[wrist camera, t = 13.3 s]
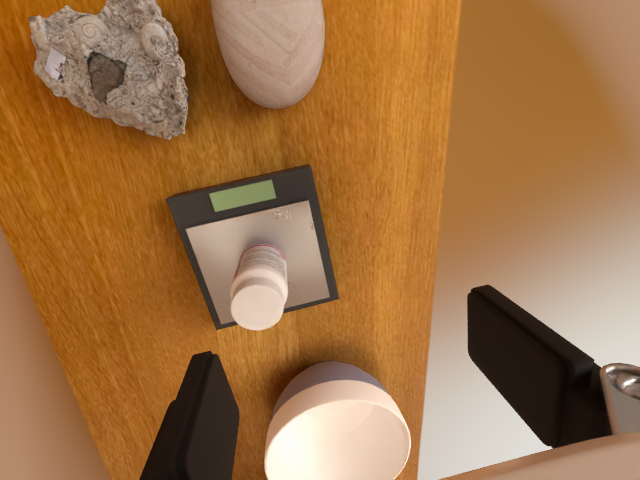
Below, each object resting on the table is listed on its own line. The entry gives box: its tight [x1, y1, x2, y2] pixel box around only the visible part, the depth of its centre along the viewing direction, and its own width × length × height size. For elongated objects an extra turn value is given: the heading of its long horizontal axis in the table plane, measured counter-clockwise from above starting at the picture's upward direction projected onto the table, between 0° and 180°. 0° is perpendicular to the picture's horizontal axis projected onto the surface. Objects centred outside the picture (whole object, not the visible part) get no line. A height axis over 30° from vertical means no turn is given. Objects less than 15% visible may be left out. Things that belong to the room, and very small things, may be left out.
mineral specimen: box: [28, 0, 189, 141], centre depth 24 cm, size 6×11×12 cm
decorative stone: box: [210, 0, 325, 109], centre depth 25 cm, size 13×9×5 cm
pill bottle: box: [230, 244, 288, 331], centre depth 27 cm, size 5×5×8 cm
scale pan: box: [186, 199, 330, 324], centre depth 31 cm, size 11×12×1 cm
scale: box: [166, 164, 339, 330], centre depth 32 cm, size 15×14×3 cm
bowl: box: [264, 361, 411, 480], centre depth 36 cm, size 16×16×10 cm
